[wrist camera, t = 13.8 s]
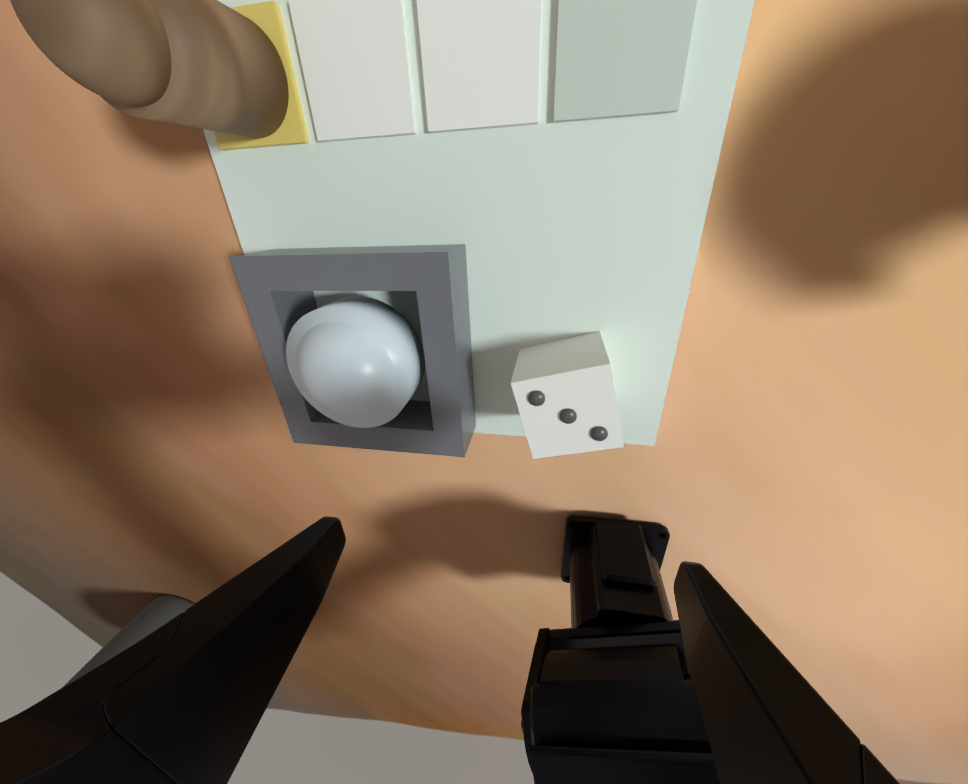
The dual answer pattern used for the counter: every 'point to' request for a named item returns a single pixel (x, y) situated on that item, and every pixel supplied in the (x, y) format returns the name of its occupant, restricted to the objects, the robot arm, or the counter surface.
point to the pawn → (166, 60)
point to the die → (567, 397)
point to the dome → (356, 361)
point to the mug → (138, 629)
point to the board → (504, 165)
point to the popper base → (422, 268)
